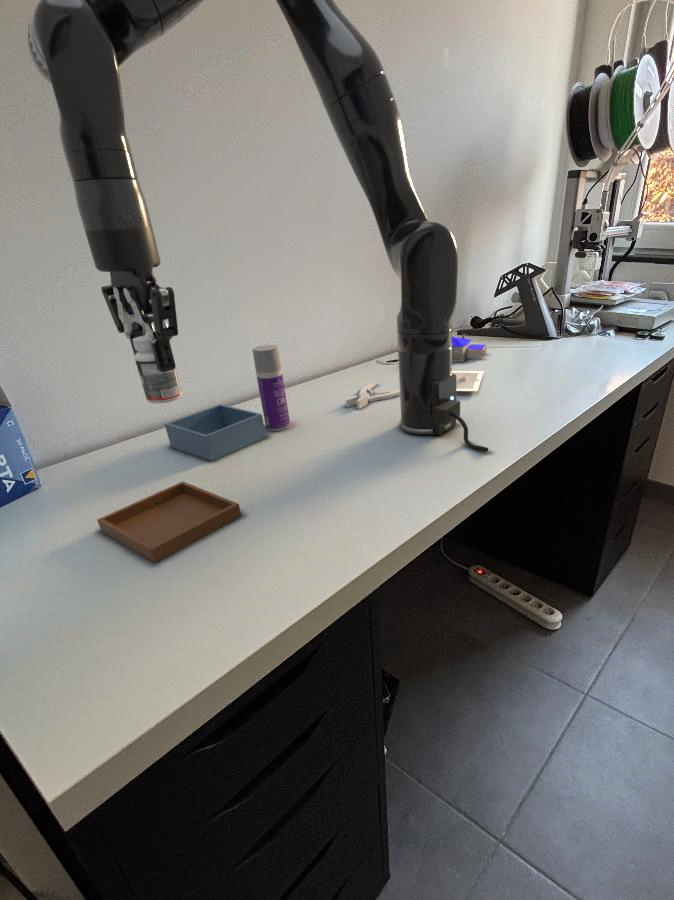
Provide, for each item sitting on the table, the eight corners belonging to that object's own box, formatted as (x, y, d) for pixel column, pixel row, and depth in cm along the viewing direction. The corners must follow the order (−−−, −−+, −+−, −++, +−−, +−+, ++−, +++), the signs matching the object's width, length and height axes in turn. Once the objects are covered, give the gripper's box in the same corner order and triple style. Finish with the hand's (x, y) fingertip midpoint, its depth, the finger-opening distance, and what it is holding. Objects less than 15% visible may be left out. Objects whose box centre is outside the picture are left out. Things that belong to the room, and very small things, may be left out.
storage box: (266, 437, 98) (261, 414, 96) (211, 461, 90) (205, 436, 87) (225, 425, 105) (220, 403, 102) (170, 447, 96) (164, 423, 94)
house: (476, 365, 132) (477, 342, 129) (422, 363, 137) (421, 341, 134) (486, 354, 141) (487, 332, 138) (435, 352, 146) (434, 331, 143)
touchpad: (440, 395, 113) (440, 385, 112) (450, 375, 125) (450, 366, 124) (477, 396, 111) (477, 386, 110) (483, 376, 123) (483, 366, 122)
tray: (241, 515, 73) (238, 503, 72) (155, 562, 64) (150, 549, 63) (185, 492, 80) (182, 481, 79) (101, 531, 71) (96, 519, 70)
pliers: (409, 382, 117) (371, 403, 106) (409, 389, 118) (372, 410, 107) (372, 378, 122) (332, 397, 111) (373, 385, 123) (333, 404, 112)
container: (285, 431, 100) (272, 350, 92) (262, 431, 101) (247, 351, 93) (293, 422, 104) (282, 344, 96) (271, 422, 105) (258, 344, 97)
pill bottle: (153, 394, 76) (136, 334, 72) (186, 392, 76) (171, 332, 72) (142, 405, 72) (123, 342, 68) (177, 402, 72) (160, 339, 68)
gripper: (179, 221, 62) (211, 367, 70) (118, 225, 70) (154, 356, 78) (117, 225, 57) (159, 382, 65) (60, 229, 65) (104, 368, 73)
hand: (156, 367), depth 72 cm, fingers closed on pill bottle, 4 cm apart
